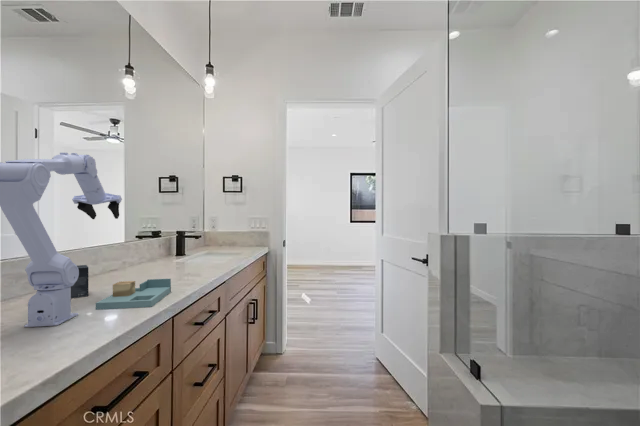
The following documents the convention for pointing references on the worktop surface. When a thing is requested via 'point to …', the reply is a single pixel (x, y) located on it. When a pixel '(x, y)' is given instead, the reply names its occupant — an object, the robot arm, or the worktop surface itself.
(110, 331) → the worktop surface
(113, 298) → the trap deck
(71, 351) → the worktop surface
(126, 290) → the block
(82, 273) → the box
